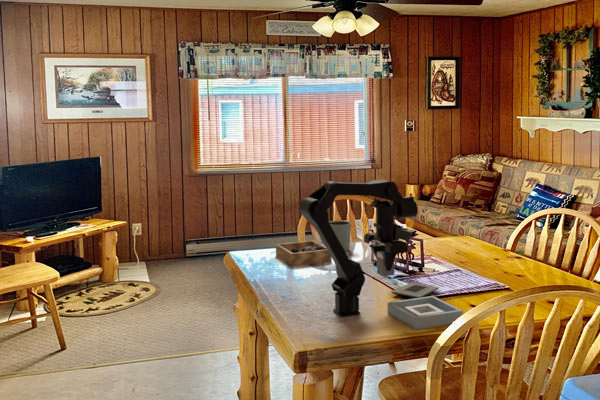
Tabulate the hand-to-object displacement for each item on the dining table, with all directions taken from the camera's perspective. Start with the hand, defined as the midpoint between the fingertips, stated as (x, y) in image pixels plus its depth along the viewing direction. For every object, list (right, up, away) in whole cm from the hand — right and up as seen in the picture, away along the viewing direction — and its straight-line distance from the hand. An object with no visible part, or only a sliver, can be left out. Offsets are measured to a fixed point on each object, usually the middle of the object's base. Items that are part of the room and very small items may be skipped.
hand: (385, 269), depth 213 cm
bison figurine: (-24, -3, +63) cm, 68 cm away
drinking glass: (-10, 0, +80) cm, 80 cm away
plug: (0, -2, 0) cm, 2 cm away
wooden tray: (-26, -2, +65) cm, 70 cm away
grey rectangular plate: (+12, -10, +14) cm, 21 cm away
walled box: (+10, -13, -10) cm, 20 cm away
